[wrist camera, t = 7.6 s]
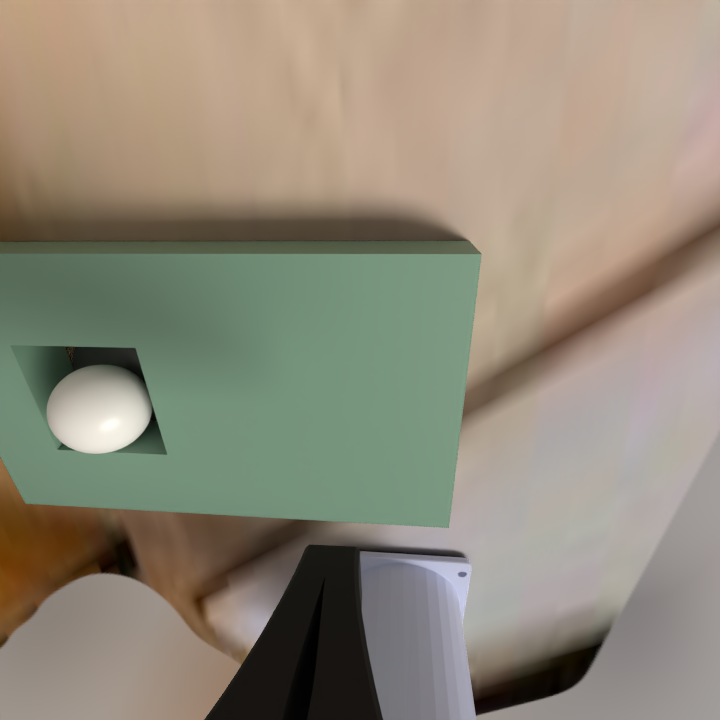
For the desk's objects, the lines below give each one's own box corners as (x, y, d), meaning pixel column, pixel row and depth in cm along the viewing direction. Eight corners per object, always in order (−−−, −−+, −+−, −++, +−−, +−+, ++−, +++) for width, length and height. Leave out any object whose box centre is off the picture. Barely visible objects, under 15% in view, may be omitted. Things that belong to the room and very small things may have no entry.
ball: (119, 402, 21) (182, 413, 20) (57, 463, 18) (127, 479, 17) (79, 342, 19) (149, 351, 18) (0, 402, 16) (78, 416, 15)
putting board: (443, 489, 21) (448, 527, 19) (61, 470, 23) (25, 503, 21) (469, 240, 15) (481, 254, 13) (-45, 241, 17) (-110, 253, 15)
